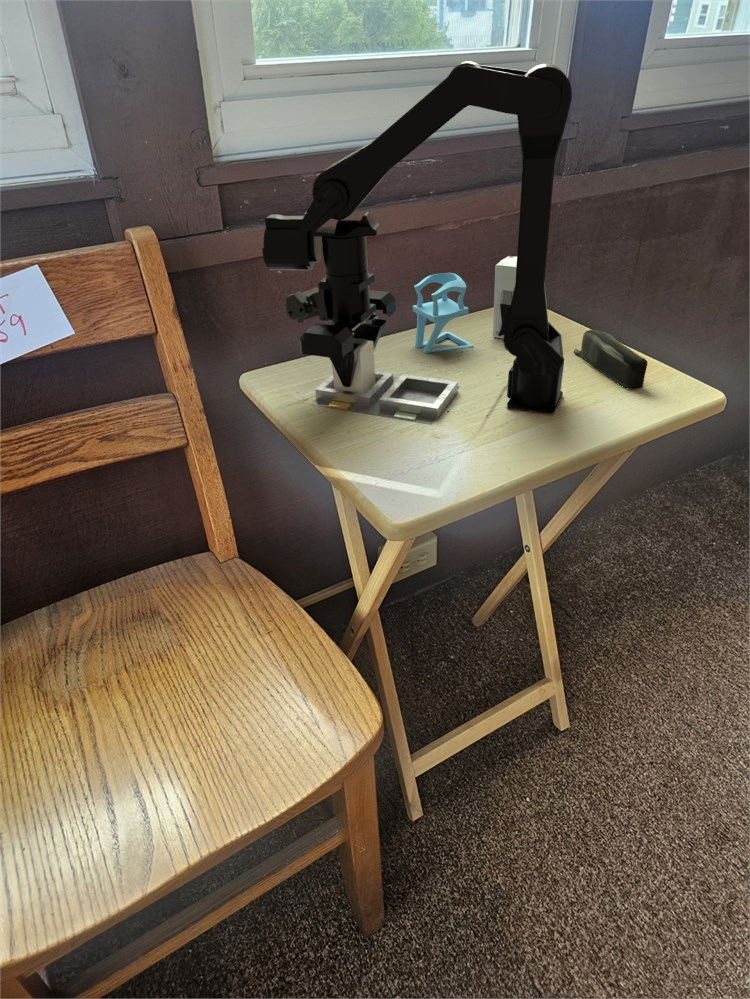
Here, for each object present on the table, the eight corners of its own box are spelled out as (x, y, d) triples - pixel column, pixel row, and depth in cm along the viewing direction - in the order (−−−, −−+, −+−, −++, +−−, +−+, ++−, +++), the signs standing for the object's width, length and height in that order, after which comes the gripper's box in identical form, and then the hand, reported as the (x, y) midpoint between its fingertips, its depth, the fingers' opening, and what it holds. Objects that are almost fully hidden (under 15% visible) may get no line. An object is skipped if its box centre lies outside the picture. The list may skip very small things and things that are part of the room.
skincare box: (516, 341, 112) (521, 267, 105) (490, 337, 114) (494, 265, 107) (527, 328, 116) (533, 257, 109) (503, 325, 118) (507, 254, 111)
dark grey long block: (653, 358, 93) (590, 320, 104) (634, 362, 92) (573, 324, 104) (645, 390, 96) (585, 350, 107) (627, 394, 95) (569, 353, 107)
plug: (375, 386, 99) (373, 338, 95) (362, 399, 95) (359, 350, 91) (345, 381, 101) (341, 334, 96) (331, 394, 97) (327, 346, 93)
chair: (406, 347, 112) (404, 275, 105) (448, 336, 115) (448, 265, 108) (431, 363, 107) (430, 288, 100) (474, 350, 110) (476, 277, 103)
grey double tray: (461, 391, 98) (461, 376, 96) (433, 429, 89) (433, 414, 88) (347, 375, 104) (346, 361, 103) (311, 409, 96) (309, 394, 94)
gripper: (324, 247, 98) (334, 348, 107) (256, 287, 84) (273, 399, 93) (395, 252, 94) (398, 356, 103) (335, 294, 80) (345, 411, 89)
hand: (354, 379), depth 97 cm, fingers open, 5 cm apart
